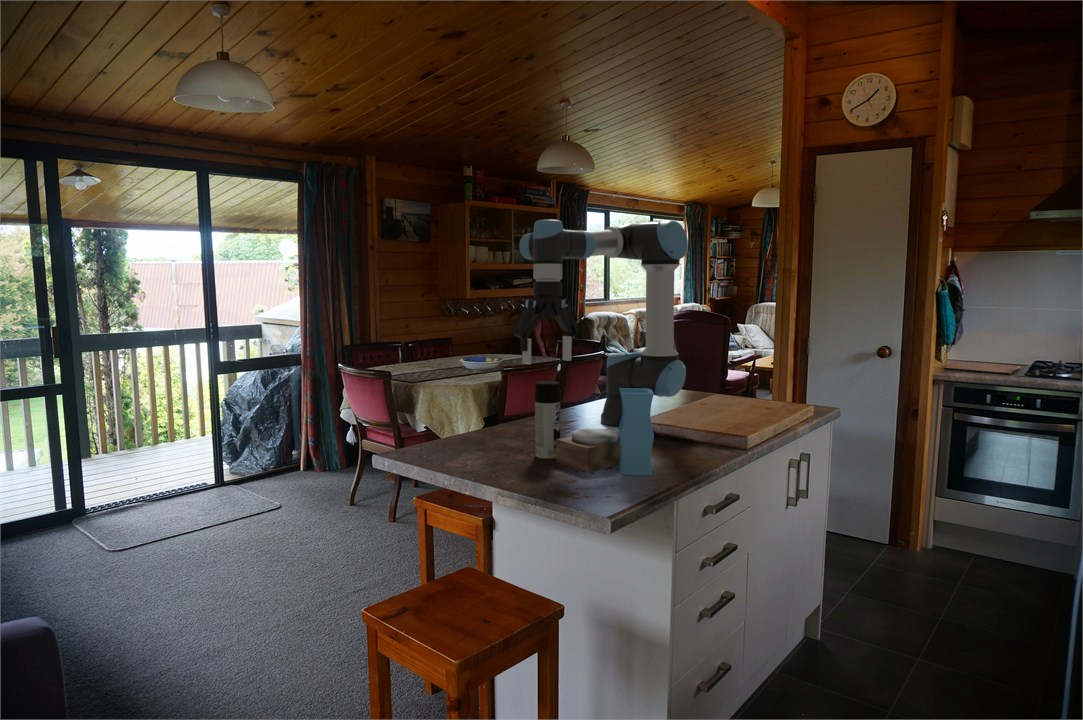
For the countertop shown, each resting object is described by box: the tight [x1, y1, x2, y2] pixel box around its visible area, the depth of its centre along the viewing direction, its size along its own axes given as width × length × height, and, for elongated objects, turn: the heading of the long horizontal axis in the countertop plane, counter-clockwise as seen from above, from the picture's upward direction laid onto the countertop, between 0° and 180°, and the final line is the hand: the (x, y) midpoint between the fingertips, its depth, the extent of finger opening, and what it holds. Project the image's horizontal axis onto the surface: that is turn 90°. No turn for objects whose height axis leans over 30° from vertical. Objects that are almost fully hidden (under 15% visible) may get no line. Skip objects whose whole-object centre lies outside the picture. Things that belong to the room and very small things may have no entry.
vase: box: [617, 388, 655, 476], centre depth 173 cm, size 8×8×20 cm
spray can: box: [534, 380, 561, 460], centre depth 186 cm, size 7×7×20 cm
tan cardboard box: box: [555, 428, 621, 473], centre depth 182 cm, size 16×12×8 cm
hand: (547, 362), depth 185 cm, fingers open, 13 cm apart
